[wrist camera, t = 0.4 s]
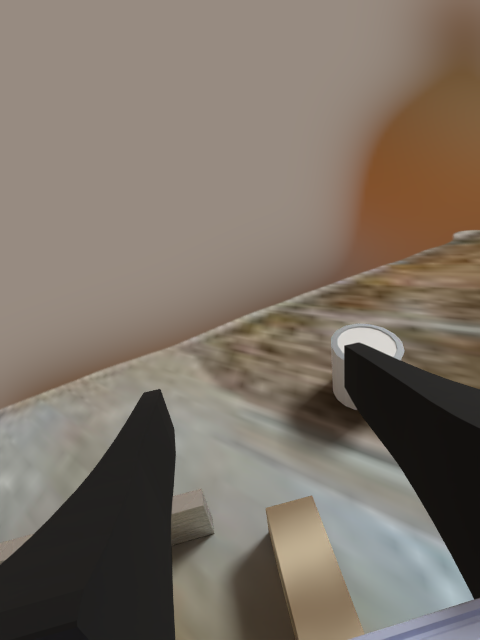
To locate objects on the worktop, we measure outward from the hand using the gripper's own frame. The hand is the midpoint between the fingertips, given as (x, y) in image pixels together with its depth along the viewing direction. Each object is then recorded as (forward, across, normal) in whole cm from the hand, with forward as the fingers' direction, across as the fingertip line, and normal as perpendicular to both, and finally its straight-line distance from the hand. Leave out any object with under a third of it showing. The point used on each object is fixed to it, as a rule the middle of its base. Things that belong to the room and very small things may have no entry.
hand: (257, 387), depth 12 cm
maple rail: (-1, -1, +20) cm, 20 cm away
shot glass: (+16, -13, +17) cm, 27 cm away
